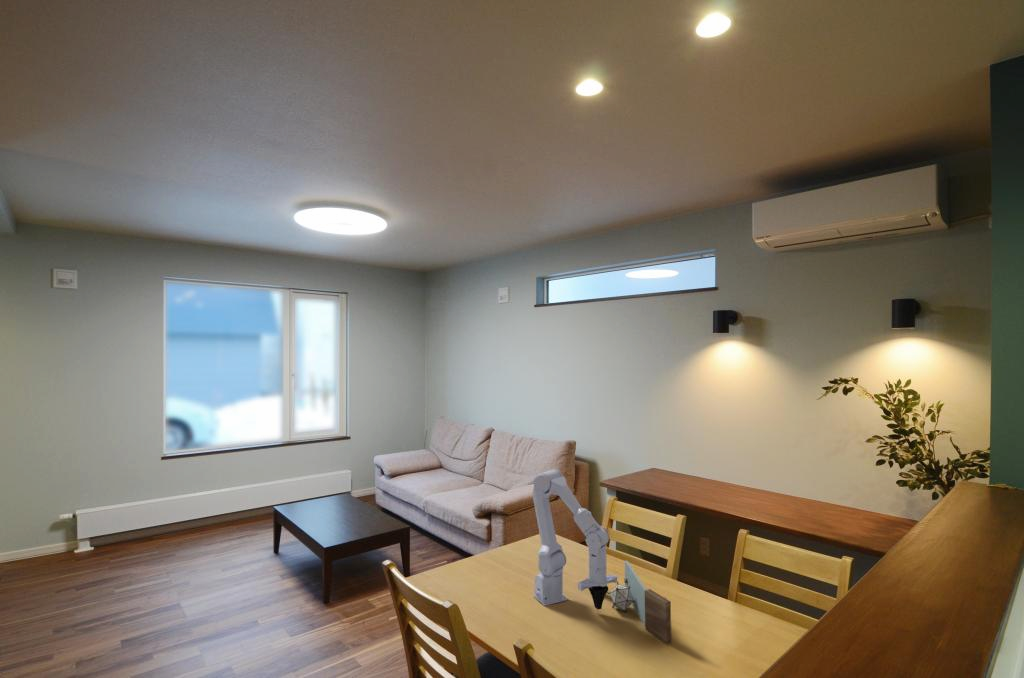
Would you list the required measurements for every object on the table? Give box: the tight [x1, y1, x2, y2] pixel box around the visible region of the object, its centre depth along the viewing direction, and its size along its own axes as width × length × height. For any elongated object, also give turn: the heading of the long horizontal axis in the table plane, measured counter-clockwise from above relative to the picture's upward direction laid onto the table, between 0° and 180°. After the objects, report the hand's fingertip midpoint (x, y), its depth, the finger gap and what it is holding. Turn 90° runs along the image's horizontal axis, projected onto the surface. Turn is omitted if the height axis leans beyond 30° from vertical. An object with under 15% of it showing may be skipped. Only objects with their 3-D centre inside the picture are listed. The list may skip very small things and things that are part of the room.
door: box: [623, 560, 648, 627], centre depth 171 cm, size 2×24×11 cm, turn 3°
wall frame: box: [644, 588, 672, 645], centre depth 168 cm, size 2×38×12 cm, turn 26°
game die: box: [606, 581, 635, 614], centre depth 171 cm, size 9×8×10 cm
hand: (597, 607), depth 168 cm, fingers closed
